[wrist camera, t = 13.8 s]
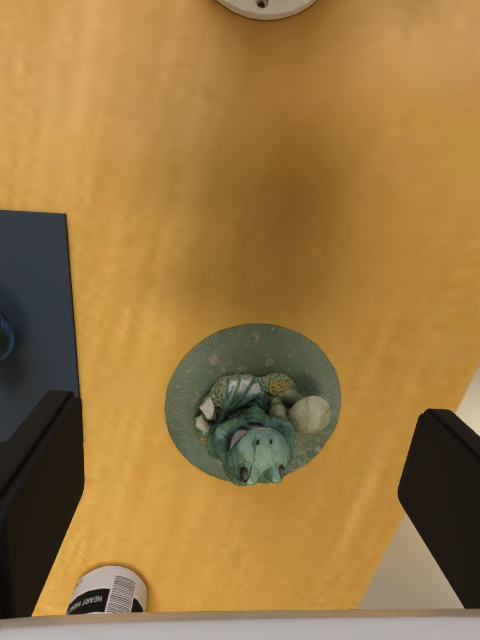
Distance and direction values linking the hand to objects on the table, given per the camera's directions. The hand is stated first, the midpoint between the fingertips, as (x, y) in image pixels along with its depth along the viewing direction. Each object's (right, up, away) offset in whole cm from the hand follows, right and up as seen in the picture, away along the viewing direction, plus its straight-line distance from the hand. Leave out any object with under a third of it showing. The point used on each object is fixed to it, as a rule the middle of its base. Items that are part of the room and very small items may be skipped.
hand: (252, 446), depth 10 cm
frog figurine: (+1, -5, +28) cm, 28 cm away
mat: (-21, +2, +23) cm, 32 cm away
